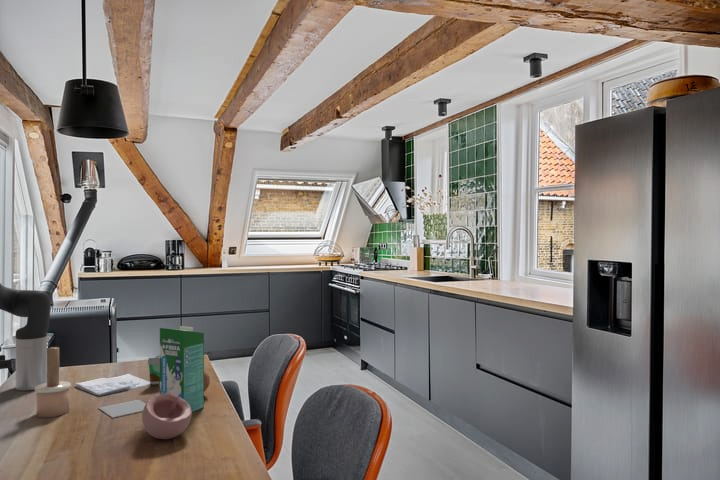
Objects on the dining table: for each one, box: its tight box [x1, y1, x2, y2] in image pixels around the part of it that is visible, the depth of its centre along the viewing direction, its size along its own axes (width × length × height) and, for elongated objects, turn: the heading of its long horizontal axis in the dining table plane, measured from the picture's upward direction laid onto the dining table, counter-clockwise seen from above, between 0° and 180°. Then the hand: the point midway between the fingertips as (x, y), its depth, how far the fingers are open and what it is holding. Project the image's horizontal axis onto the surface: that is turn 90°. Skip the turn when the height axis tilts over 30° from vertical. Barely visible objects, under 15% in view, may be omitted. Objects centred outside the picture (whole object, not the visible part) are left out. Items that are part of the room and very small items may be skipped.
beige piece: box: [34, 346, 72, 393], centre depth 159 cm, size 9×9×12 cm
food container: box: [147, 355, 160, 387], centre depth 192 cm, size 12×6×10 cm, turn 168°
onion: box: [204, 370, 211, 392], centre depth 176 cm, size 10×9×10 cm
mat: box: [98, 399, 147, 419], centre depth 163 cm, size 12×12×1 cm
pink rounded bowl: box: [141, 393, 193, 440], centre depth 140 cm, size 12×12×12 cm
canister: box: [35, 389, 70, 418], centre depth 159 cm, size 8×8×7 cm
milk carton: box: [159, 325, 205, 413], centre depth 162 cm, size 9×9×25 cm
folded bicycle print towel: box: [74, 372, 150, 397], centre depth 189 cm, size 19×20×2 cm
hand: (8, 361), depth 151 cm, fingers open, 8 cm apart
